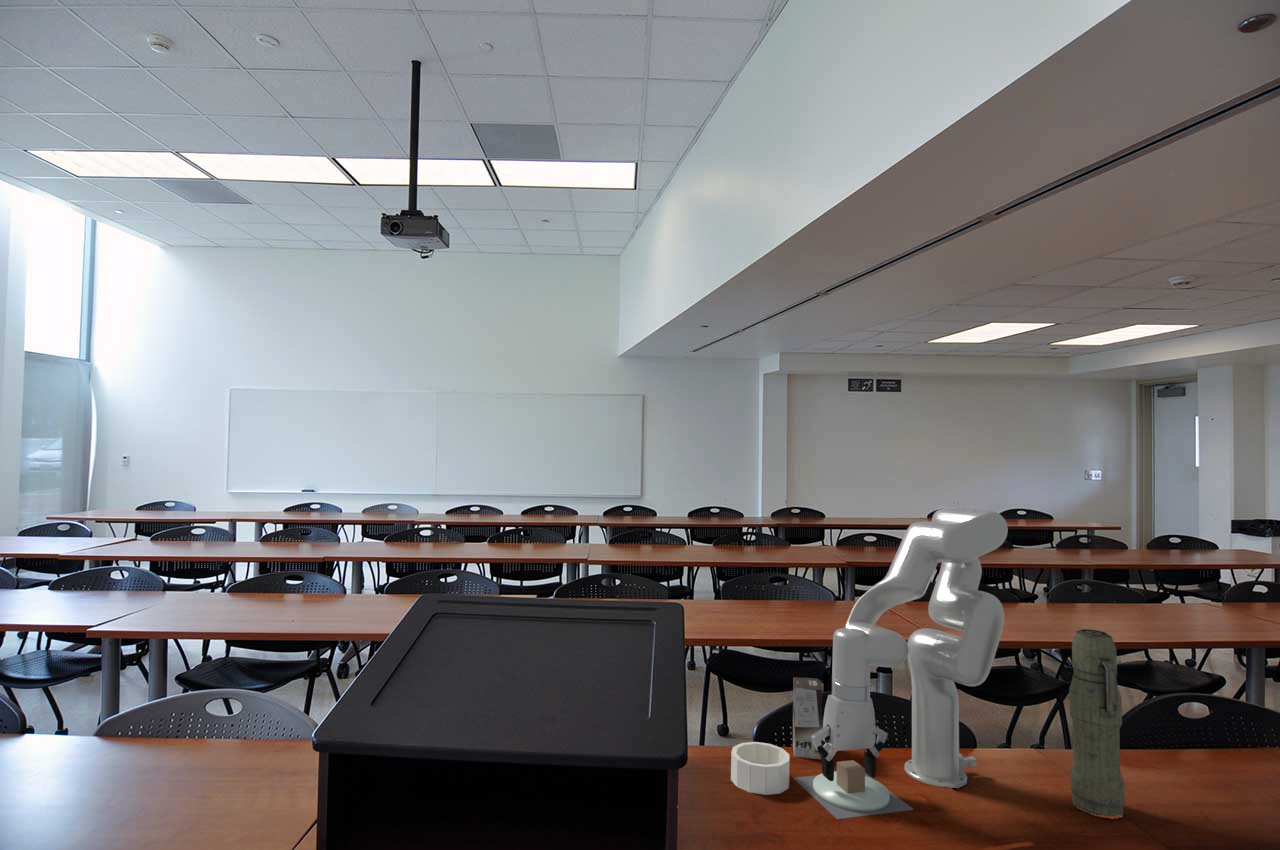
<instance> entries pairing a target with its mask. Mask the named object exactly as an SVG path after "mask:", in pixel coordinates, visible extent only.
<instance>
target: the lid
mask: <svg viewBox="0 0 1280 850" xmlns="http://www.w3.org/2000/svg"><path fill="white" fill-rule="evenodd" d="M817 775H818V776H816V775H815V776H816V777H815V778H814V780H813V790H814V792H815V794H816V795H817V796H818V797H819V798H820V799H822V800H823V801H825V802H827V803H829V804H831V805H833V806H836V807H839V808H842V809H846V810H851V811H858V812H872V811H878V810H881V809H884V808H885V807H887V806H888V804H889V802H890V794H889V791H890V790H889V789H888V788H887V787H886V786H885V785H884V784H882V783H881V782H879V781H878V780H876V779H874V778H873V779H872V777H871V778H869V777H867V776H865V768H864V766H862V765H861V764H859V762H857V761H855V760H853V759H852V760H842V761H836V771H835V770H834V780H833V781H829V780H828V779H827V778H826V777H824V776H823V773H822V772H821V773H819V774H817ZM888 790H889V791H888Z"/></svg>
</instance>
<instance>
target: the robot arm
mask: <svg viewBox="0 0 1280 850" xmlns="http://www.w3.org/2000/svg"><path fill="white" fill-rule="evenodd" d="M1008 531H1009V530H1008V524H1007V521H1006V519H1005V518H1004V517H1003V516H1002V515H1001V514H1000V513H998V512H997V511H994V510H989V509H975V508H964V507H961V508H960V507H944V508H940V509H937V510H936V511H935V512H934V513H933V515H932V518H931V521H917V522H913V523H912V524H910V525H909V526H908V528H907V529H906V531H905V533H904V535H903V537H902V540H901V542H900V543H899V546H898V547H897V548H898V549H897V551H896V553H895V555H894V558H893V559H892V562H891V564H890V566H889V568H888V571H887V573H886V575H885V576H884V578H882V580H880V581H879V582H877V583H875V584H874V585H873V586H871V588H870V589H868V590H867V591H866V592H865V593H864V594H862V595H861V596H860V597H859V598H858V599H857V600H856V602H855V603H854V605H853V607H852V609H851V611H850V613H849V616H848V618H847V620H846V622H845V625H844V627H843V628H837V629H836V630H835V631H834V632H833V636H832V661H831V662H832V668H831V669H832V671H831V672H832V673H831V694H828V695H827V699H826V702H825V705H824V706H825V707H824V710H823V711H824V713H823V718H822V729H821V730H819V731H818V732H816V733H815V734H813V735H812V736H811V740H812V742H813V744H814V746H815V749H816V750H817V751H818V752H819V753H820V755H821V774H822V773H823V776H824V777H826V778H827V779H828V780H829V781H833V780H834V771H835V761H834V760H833V758H834V756H835V755H836V753H837V752H840V751H858V750H865V751H864V752H863V768H865V773H866V774H867V775H869V776H870V777H871V778H873V779H874V778H876V772H877V758H878V757H880V752H881V751H882V750H883V749H884V747H885V742H886V741H887V737H888V735H889V734H888V733H887V732H886V731H884V730H883V729H881V728H879V727H878V726H876V716H875V709H874V704H873V699H872V698H871V697H870V696H871V692H872V691H873V692H874V691H875V686H874V684H873V683H871V667H881V668H882V667H883V668H895V667H898V666H900V665H903V664H904V663H905V661H906V660H908V664H909V669H910V676H911V677H910V679H911V759H908V760H907V761H906V762H905V763H904V771H905V772H906V774H907V775H908V776H910V777H911V778H913V779H915V780H916V781H919V782H921V783H924V784H927V785H931V786H935V787H941V788H949V789H951V788H956V789H961V788H962V786H963V787H964V785H967V783H968V776H967V774H966V773H965V771H964V770H965V769H966V768H967V767H969V768H971V767H977V765H978V761H977V758H976V757H974V756H966V757H964V755H963V754H962V753H960V725H959V724H960V721H959V720H960V715H959V714H960V713H959V711H960V701H959V693H958V690H957V687H956V684H955V683H957V684H961V685H964V686H967V687H977V686H980V685H982V684H983V683H984V682H985V681H986V679H987V678H988V676H989V674H990V672H991V669H992V666H993V664H994V660H995V656H996V653H997V651H998V646H999V643H1000V640H1001V637H1002V634H1003V630H1004V626H1005V611H1004V607H1003V604H1002V602H1001V601H1000V600H999V598H998V597H996V595H994V594H991V593H989V592H986V591H983V590H978V589H979V586H980V582H981V578H982V572H983V570H982V569H983V568H982V564H981V561H980V559H979V557H982V556H984V555H986V554H988V553H990V552H993V551H995V550H996V549H998V548H999V547H1000V546H1002V545H1003V544H1004V542H1005V541H1006V539H1007V536H1008V534H1009V533H1008ZM940 562H941V565H940V569H939V573H938V576H937V579H936V581H935V584H934V587H933V590H932V593H931V596H930V600H929V602H928V608H927V609H928V610H927V611H928V612H927V613H928V615H929V618H930V619H931V620H932V621H933V622H934V623H936V624H938V625H939V626H940V625H941V626H943V627H945V628H949V629H952V630H956V631H960V632H963V633H962V636H961V635H956V634H953V633H950V632H947V631H944V630H939V629H934V628H928V627H926V628H924V627H923V628H919V629H917V630H915V631H914V632H912V633H911V634H910V636H909V637H908V639H907V641H906V639H905V638H904V636H903V635H901V634H899V632H896V631H893V630H891V629H888V628H885V627H882V626H878V625H876V624H877V622H878V620H879V618H880V617H881V616H882V615H883V614H884V613H885V612H887V611H888V610H889V609H891V608H893V607H895V606H898V605H902V604H905V603H908V602H911V601H914V600H918V599H922V597H924V595H926V591H927V590H928V587H929V585H930V582H931V580H932V577H933V575H934V573H935V570H936V568H937V566H938V563H940ZM876 735H877V736H876ZM822 741H823V742H824V744H822ZM960 787H961V788H960Z"/></svg>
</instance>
